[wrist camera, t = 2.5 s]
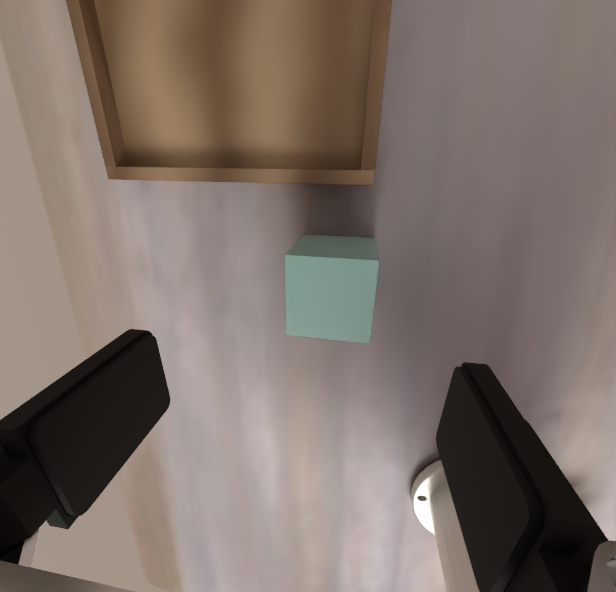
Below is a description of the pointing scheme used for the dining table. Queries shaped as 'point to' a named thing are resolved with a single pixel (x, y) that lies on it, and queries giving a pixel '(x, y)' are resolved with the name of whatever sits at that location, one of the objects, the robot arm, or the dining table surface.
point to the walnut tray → (235, 87)
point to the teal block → (331, 287)
